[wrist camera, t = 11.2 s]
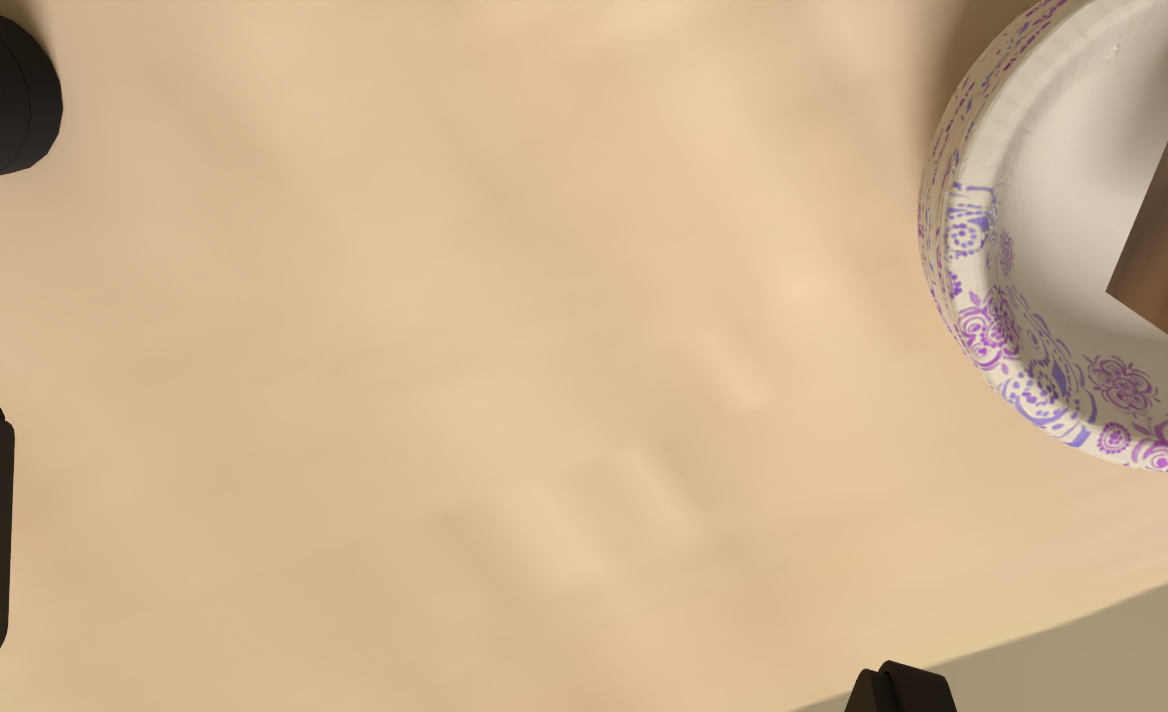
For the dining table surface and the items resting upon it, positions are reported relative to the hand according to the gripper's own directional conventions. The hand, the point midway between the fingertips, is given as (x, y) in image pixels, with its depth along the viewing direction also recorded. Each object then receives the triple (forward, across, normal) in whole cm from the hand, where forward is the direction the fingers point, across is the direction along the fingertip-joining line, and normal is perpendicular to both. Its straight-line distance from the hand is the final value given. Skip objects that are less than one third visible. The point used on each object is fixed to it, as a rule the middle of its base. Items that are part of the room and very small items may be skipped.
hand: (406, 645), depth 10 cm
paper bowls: (+29, -16, -5) cm, 33 cm away
